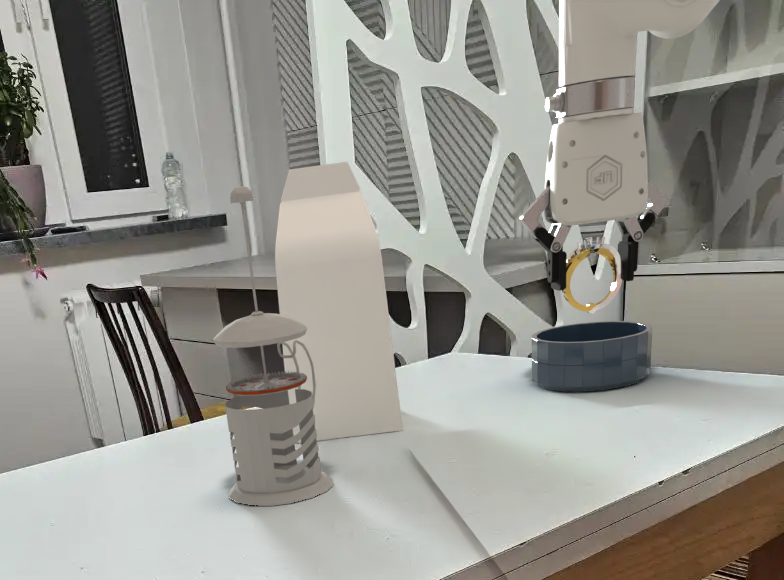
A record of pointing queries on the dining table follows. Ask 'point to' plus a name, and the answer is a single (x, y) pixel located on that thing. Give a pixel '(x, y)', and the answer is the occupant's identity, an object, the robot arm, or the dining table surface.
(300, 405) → the french press
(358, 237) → the milk
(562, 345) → the bowl
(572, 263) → the ring
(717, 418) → the dining table surface
